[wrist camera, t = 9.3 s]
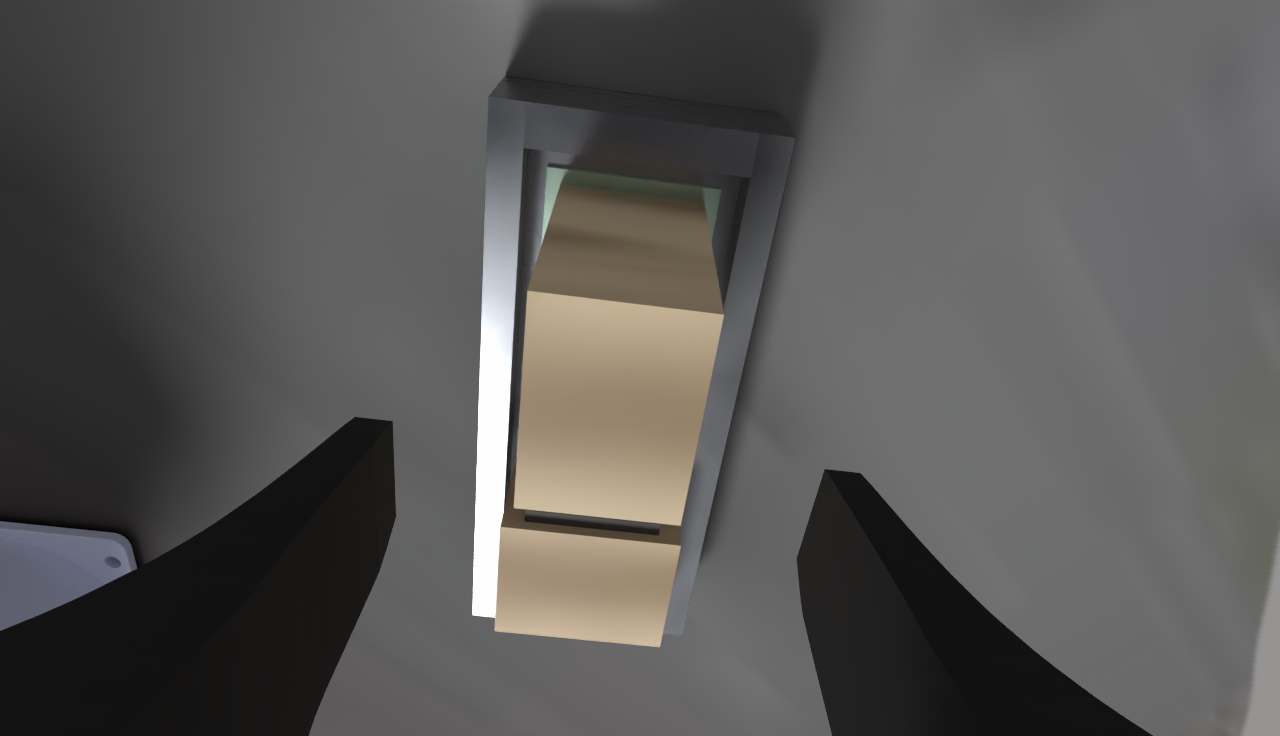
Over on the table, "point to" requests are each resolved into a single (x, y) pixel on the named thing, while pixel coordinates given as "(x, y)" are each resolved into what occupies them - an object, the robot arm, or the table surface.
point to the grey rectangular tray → (635, 163)
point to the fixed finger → (584, 575)
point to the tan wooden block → (617, 356)
